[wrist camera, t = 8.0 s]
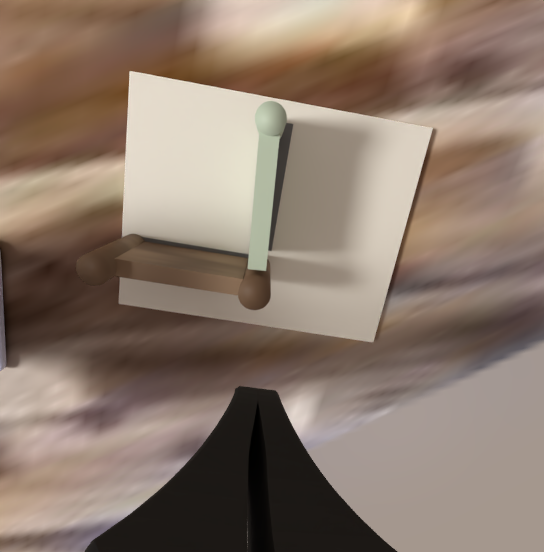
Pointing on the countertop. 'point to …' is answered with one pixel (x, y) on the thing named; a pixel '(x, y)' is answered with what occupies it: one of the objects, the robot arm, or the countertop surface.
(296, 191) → the card
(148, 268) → the walnut fence section
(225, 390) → the countertop surface
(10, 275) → the countertop surface
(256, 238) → the sage fence panel
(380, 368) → the countertop surface
